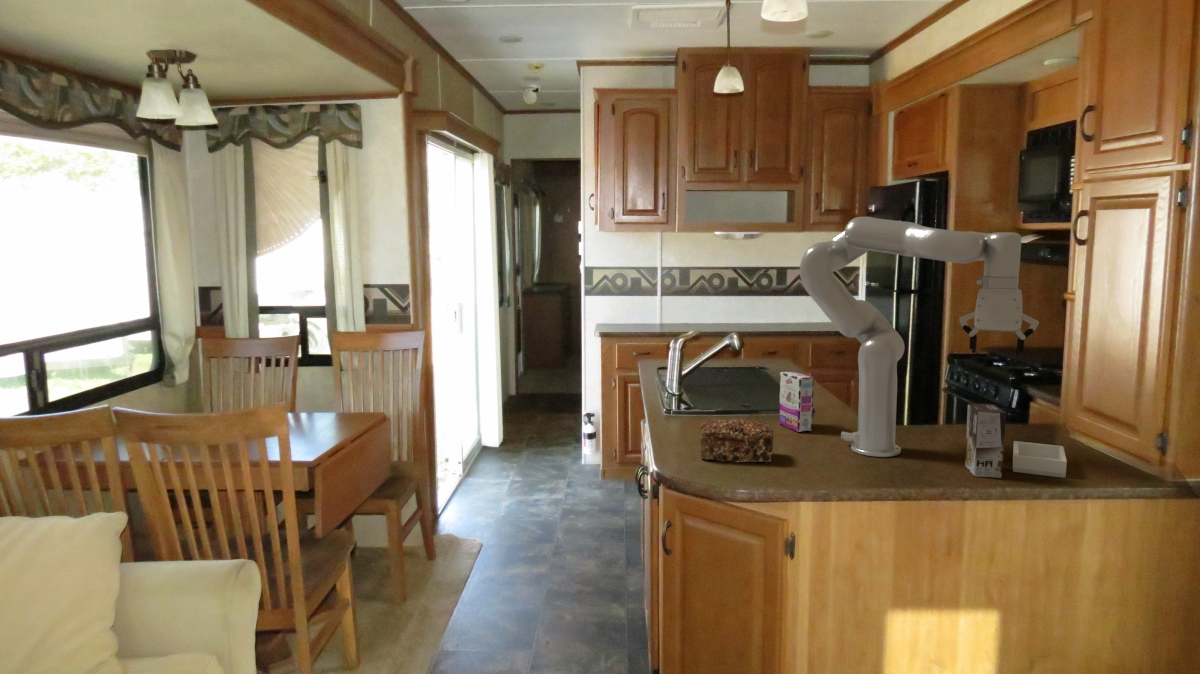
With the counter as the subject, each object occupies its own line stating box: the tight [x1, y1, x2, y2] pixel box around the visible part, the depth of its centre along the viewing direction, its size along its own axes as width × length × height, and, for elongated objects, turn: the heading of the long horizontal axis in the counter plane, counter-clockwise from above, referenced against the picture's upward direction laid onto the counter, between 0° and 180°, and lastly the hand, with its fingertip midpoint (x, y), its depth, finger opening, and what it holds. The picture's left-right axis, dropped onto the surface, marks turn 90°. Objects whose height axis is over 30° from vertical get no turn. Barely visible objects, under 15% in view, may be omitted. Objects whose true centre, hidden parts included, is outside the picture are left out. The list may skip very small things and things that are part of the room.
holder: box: [1012, 440, 1068, 479], centre depth 189 cm, size 11×14×4 cm
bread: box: [699, 418, 774, 463], centre depth 200 cm, size 19×11×10 cm, turn 77°
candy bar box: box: [778, 370, 815, 433], centre depth 227 cm, size 11×5×16 cm, turn 18°
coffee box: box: [964, 403, 1007, 479], centre depth 185 cm, size 9×6×16 cm
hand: (995, 353), depth 186 cm, fingers open, 9 cm apart
